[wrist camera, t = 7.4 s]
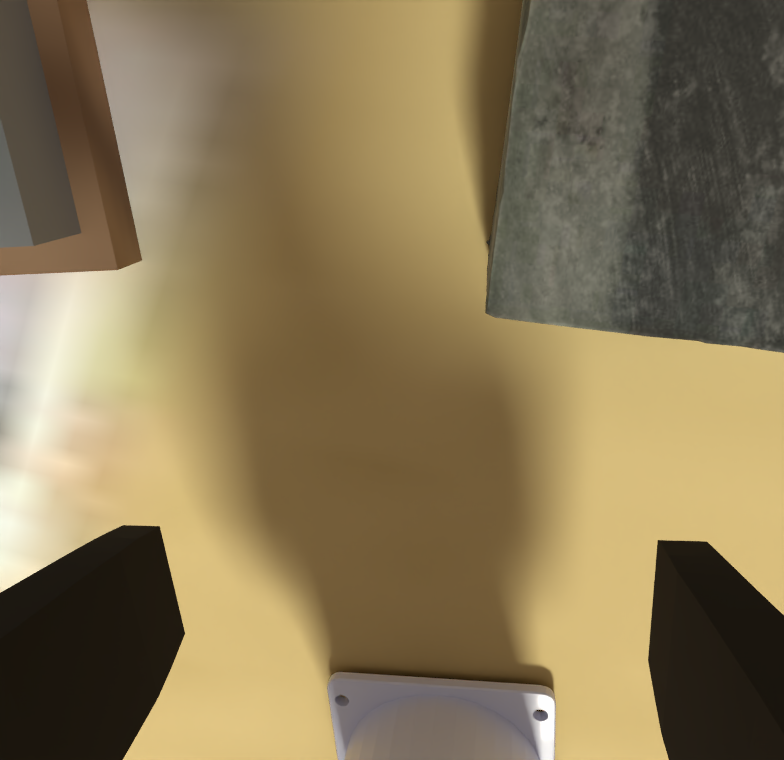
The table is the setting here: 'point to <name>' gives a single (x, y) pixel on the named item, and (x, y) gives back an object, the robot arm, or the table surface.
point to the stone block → (645, 171)
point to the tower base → (79, 150)
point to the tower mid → (29, 142)
